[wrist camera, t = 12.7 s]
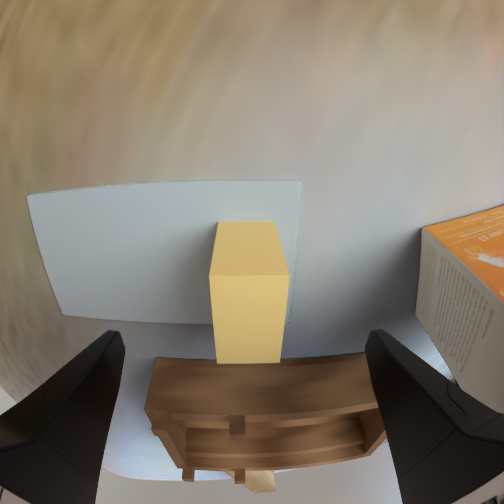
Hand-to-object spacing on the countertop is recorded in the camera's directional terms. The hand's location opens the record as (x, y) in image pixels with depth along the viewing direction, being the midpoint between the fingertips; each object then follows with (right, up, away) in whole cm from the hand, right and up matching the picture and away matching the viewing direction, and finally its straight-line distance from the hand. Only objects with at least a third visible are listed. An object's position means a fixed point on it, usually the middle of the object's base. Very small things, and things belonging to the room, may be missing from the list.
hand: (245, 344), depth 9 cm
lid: (-5, +3, +4) cm, 7 cm away
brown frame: (+2, -8, +10) cm, 13 cm away
